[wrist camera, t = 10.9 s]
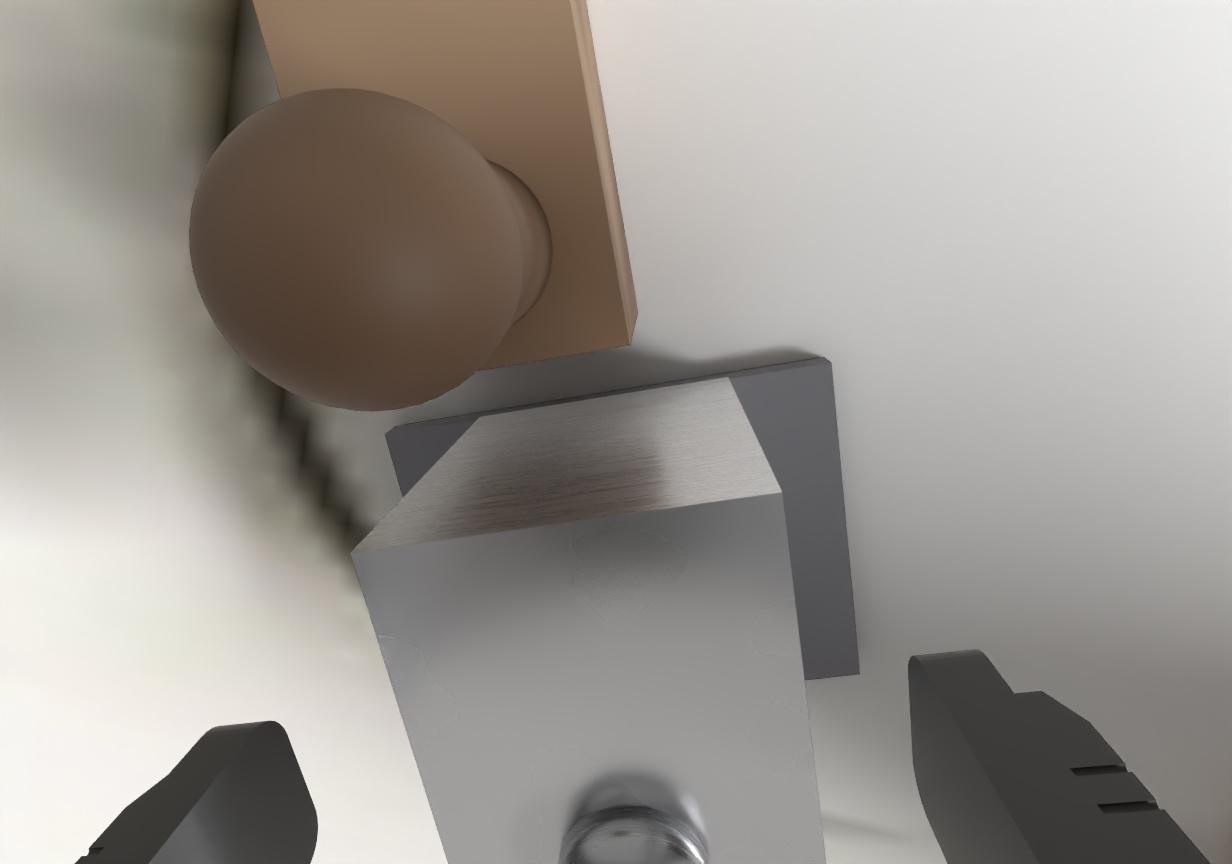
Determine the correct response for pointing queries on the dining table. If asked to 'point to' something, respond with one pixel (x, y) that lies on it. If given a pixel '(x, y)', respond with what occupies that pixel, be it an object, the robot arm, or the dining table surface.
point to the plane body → (415, 200)
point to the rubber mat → (802, 464)
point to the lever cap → (601, 638)
